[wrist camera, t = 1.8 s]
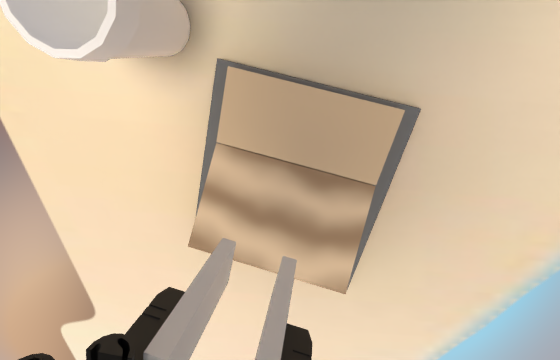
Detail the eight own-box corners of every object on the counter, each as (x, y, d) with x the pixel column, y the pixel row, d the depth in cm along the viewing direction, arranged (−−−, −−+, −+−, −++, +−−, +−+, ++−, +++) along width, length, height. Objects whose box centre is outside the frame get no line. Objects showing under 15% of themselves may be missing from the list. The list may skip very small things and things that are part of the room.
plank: (221, 145, 32) (216, 142, 30) (370, 186, 31) (375, 186, 29) (194, 242, 32) (187, 246, 30) (342, 286, 31) (345, 294, 29)
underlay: (220, 59, 30) (209, 56, 27) (417, 108, 28) (428, 110, 25) (195, 238, 38) (185, 250, 35) (346, 284, 37) (348, 300, 34)
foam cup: (201, -26, 27) (104, -117, 15) (206, 71, 30) (127, 59, 18) (118, -25, 29) (-34, -108, 17) (130, 69, 32) (10, 56, 20)
